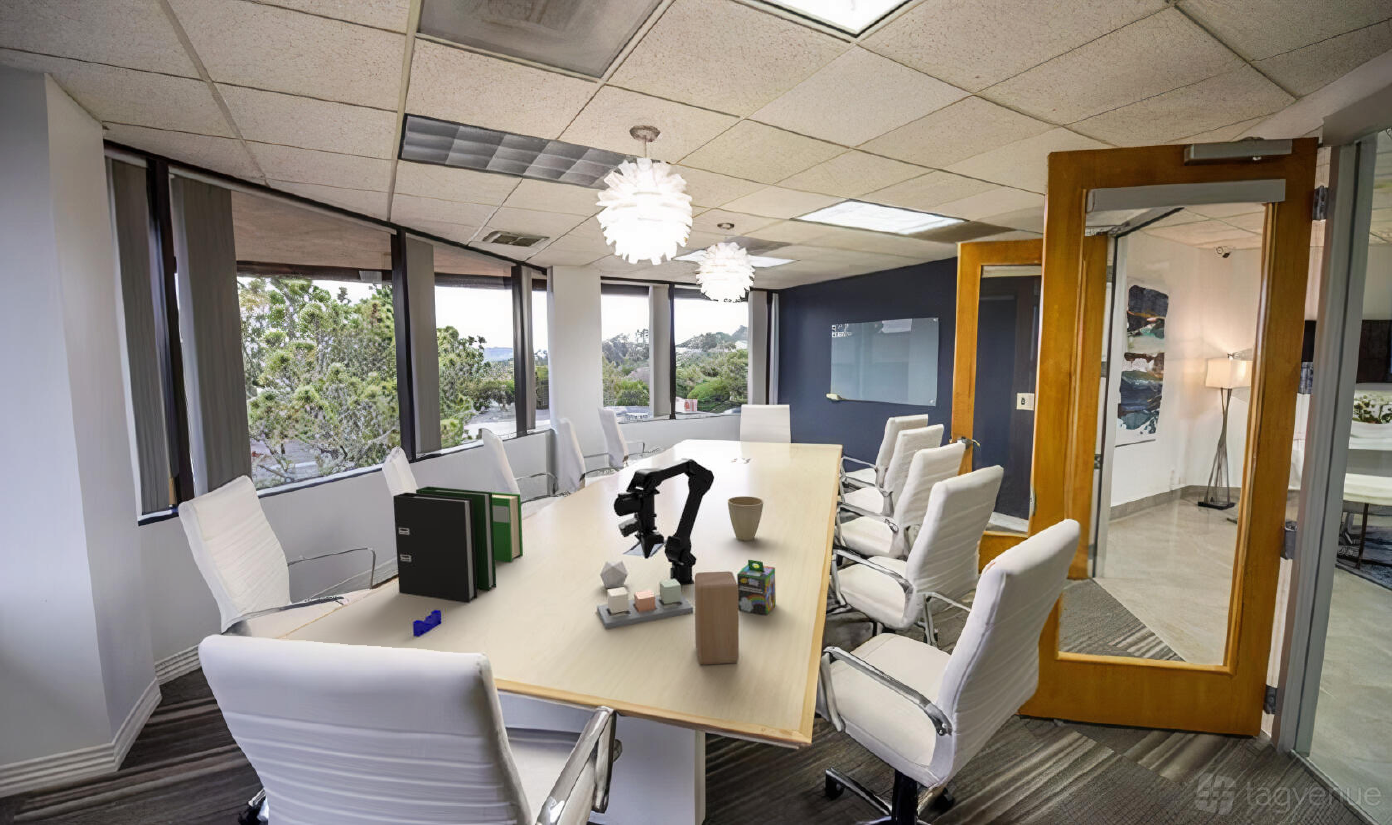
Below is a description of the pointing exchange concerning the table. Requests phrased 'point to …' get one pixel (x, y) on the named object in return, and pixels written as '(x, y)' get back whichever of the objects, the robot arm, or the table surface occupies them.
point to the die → (614, 574)
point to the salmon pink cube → (644, 601)
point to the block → (716, 618)
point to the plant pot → (745, 516)
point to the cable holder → (427, 623)
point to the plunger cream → (618, 600)
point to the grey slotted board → (643, 613)
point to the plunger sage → (670, 591)
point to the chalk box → (756, 588)
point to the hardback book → (507, 526)
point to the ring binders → (445, 543)
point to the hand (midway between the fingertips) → (646, 558)
